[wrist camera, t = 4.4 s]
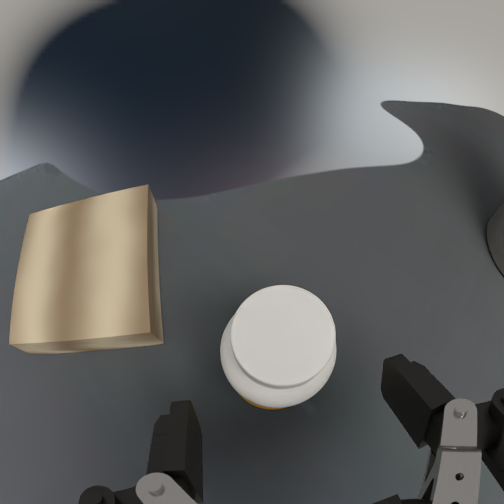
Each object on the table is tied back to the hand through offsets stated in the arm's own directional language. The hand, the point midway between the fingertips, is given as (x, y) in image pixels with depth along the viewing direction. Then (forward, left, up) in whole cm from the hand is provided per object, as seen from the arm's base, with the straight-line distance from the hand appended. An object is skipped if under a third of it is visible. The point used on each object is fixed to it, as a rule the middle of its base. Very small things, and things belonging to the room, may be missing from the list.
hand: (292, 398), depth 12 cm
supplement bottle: (0, -2, -8) cm, 9 cm away
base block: (+13, -11, -8) cm, 19 cm away
